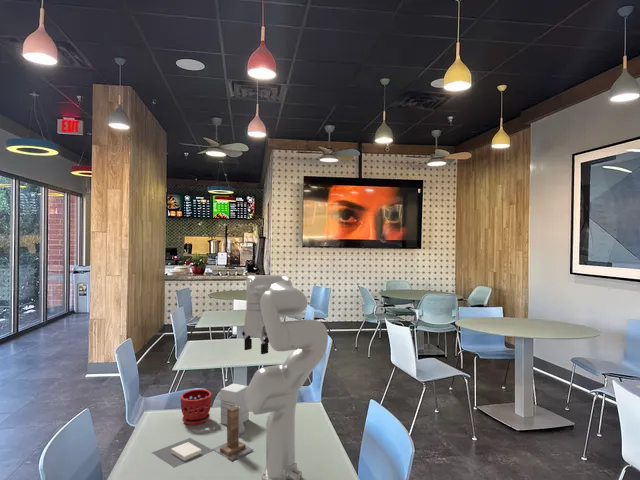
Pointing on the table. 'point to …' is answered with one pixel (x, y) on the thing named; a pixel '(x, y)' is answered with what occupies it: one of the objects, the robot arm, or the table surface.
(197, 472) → the table surface
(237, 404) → the supplement box
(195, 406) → the plant pot
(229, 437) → the wooden post stand
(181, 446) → the tile
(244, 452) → the plate
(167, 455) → the mat
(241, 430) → the flask
